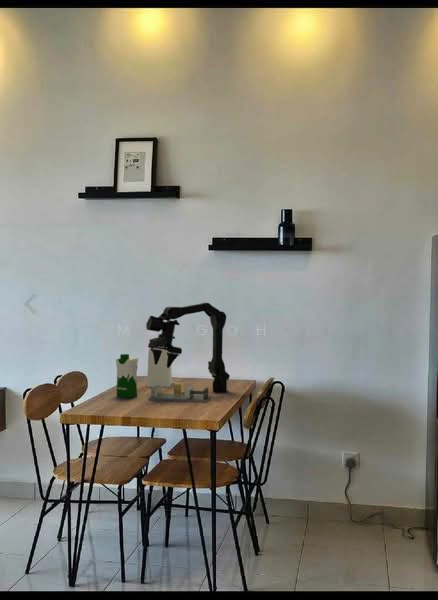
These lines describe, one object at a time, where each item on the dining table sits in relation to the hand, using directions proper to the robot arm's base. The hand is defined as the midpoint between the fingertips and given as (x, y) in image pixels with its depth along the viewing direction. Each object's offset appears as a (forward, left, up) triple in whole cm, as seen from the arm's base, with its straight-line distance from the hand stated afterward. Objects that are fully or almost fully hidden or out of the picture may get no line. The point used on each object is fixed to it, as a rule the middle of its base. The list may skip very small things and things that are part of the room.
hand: (161, 366), depth 289 cm
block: (-6, -10, -15) cm, 19 cm away
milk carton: (+16, +3, -15) cm, 22 cm away
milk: (+9, -31, -15) cm, 35 cm away
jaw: (-18, +3, -13) cm, 22 cm away
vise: (-10, +3, -14) cm, 18 cm away
